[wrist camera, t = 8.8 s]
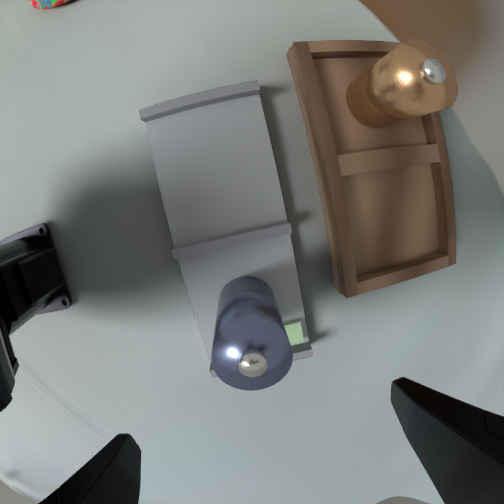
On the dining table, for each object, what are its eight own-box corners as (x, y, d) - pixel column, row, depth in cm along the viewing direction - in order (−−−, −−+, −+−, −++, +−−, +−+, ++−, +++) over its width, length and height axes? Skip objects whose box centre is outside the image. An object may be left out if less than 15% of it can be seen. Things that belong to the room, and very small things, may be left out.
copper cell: (353, 130, 16) (416, 108, 9) (339, 77, 15) (391, 31, 9) (401, 126, 16) (471, 109, 9) (387, 76, 15) (449, 40, 9)
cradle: (214, 365, 21) (212, 379, 19) (147, 113, 16) (138, 107, 15) (307, 345, 21) (313, 358, 19) (255, 86, 16) (257, 77, 15)
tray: (334, 287, 20) (346, 301, 17) (286, 54, 16) (292, 39, 14) (437, 257, 20) (456, 266, 17) (400, 52, 16) (416, 42, 14)
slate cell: (226, 332, 19) (223, 402, 12) (212, 283, 18) (199, 339, 12) (279, 321, 19) (300, 387, 12) (268, 270, 18) (287, 321, 12)
